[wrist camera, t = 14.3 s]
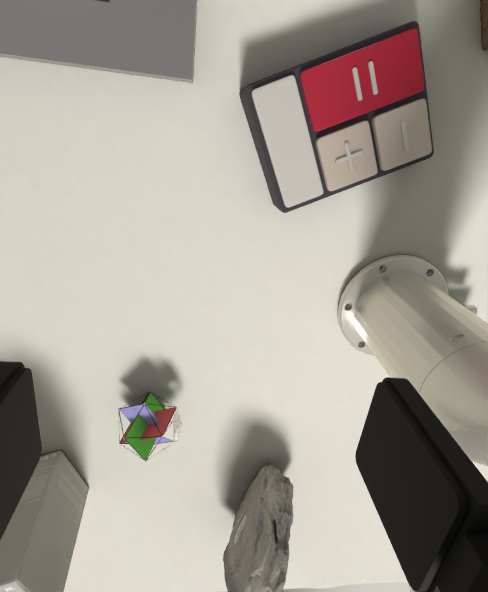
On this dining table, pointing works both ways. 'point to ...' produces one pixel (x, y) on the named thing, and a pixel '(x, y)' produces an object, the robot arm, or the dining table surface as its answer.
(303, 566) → the dining table surface
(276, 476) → the decorative rock
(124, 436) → the geometric puzzle
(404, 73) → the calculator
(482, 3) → the box
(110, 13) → the socket plate
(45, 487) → the skincare box
